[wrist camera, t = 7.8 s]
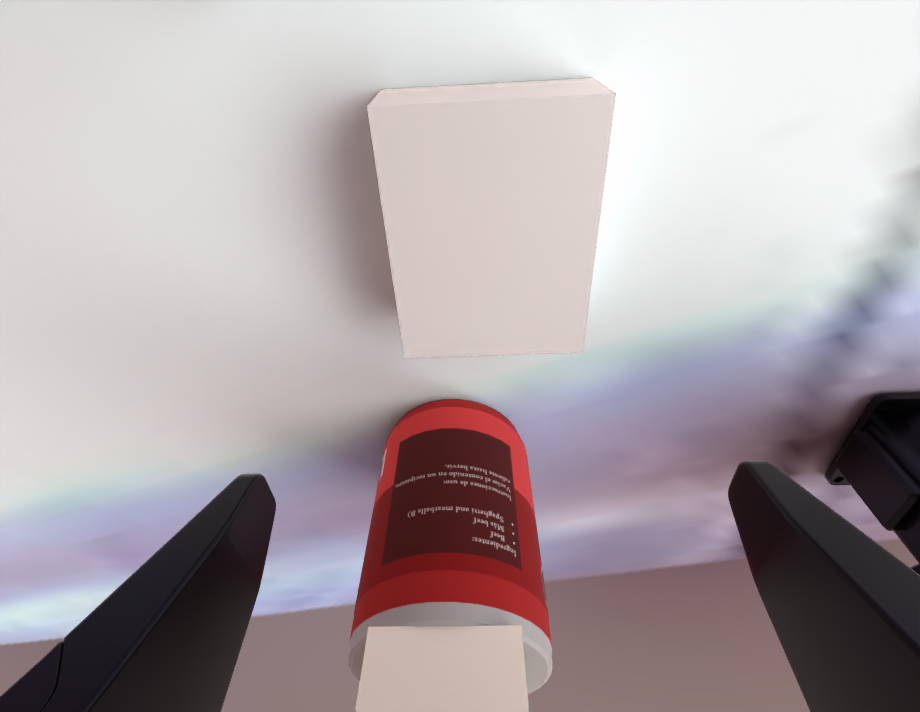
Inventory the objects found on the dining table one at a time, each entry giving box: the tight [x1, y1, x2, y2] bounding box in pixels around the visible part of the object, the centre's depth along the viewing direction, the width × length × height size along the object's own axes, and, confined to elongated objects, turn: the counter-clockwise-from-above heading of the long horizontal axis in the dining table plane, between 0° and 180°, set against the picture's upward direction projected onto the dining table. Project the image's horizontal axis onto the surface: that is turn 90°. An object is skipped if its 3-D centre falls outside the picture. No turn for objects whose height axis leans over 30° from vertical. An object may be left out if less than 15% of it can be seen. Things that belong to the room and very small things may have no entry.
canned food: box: [349, 400, 553, 695], centre depth 22 cm, size 8×8×11 cm
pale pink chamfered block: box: [367, 78, 616, 358], centre depth 18 cm, size 7×9×3 cm
